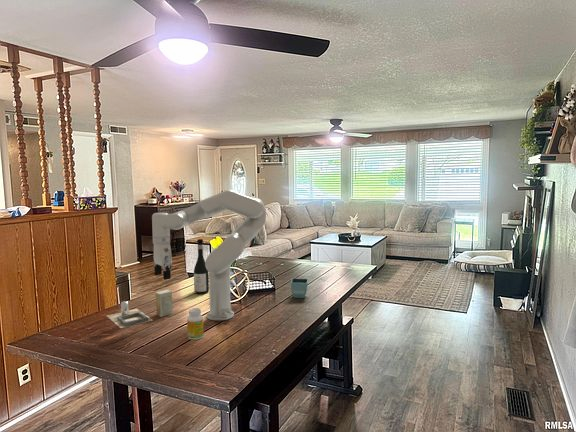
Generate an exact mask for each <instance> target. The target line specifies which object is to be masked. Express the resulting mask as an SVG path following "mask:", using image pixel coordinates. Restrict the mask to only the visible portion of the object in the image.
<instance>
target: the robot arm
mask: <svg viewBox="0 0 576 432" xmlns="http://www.w3.org/2000/svg"><path fill="white" fill-rule="evenodd" d="M226 211H230V212H232V213H235V214H238V215H239V216H240V215H241V216H244V217H246V218H245V219H244V220H243V221H242V222H241V223H240V225H239V226H237V228H235V229H234V231H232V232H231V233H230V234H229V235H227V237H226V238H225V239H224V240H222V242H221V243H220V244H219V245H218V246H217V247H216V248H215V249H213V250H212V251H211V252H210V253H209V254H208V256H207V257H206V259H205V266H206V269H207V270H208V274H209V291H208V295H209V296H208V297H209V312H208V311H207V313H206V318H207V319H208V320H210V321H215V322H216V321H217V322H218V321H219V322H220V321H227V320H230V319H232V318H234V316H235V312H234V311H233V310H232V306H231V305H232V304H231V265H232V264H233V263H234V262H236V260H237V259H238V258H239V257H240V256H241V255H242V254H243V253H244V250H245V248H246V247H247V245H248V244H249V243H251V241H252V240H253V239H254V238H255V237H256V236H257V235H258V234H259V233H260V232H261V230H262V228H263V226H264V225H265V223H266V219H267V212H266V211H267V210H266V207H265V204H264V202H263V200H262V199H260V198H258V197H250V196H246V195H244V194H241V193H239V192H238V191H237V190H235V189H233V188H228V189H226V190H224V191H221V192H219V193H217V194H214V195H212V196H209V197H207V198H204V199H201V200H200V201H199V202H198V203H195V204H193V205H191V206H188V207H186V208H184V209H181V210H179V211H176V212H173V213H168V212H154V213H153V214H152V215H151V221H152V222H151V224H152V226H151V227H152V244H153V257H152V259H153V263H154V264H153V266H154V276H160V275H162V278H163V281H164V280H170V279H171V277H172V276H171V274H172V273H171V271H172V269H171V268H172V265H173V260H172V255H173V254H172V249H171V247H172V246H171V230H174V231H177V230H181V229H182V228H184V227H186V226H188V225H191V224H193V223H196V222H198V221H201V220H203V219H209V218H212V217H215V216H217V215H219V214H222V213H225V212H226ZM162 269H163V271H162Z"/></svg>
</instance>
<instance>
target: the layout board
mask: <svg viewBox="0 0 576 432" xmlns="http://www.w3.org/2000/svg"><path fill="white" fill-rule="evenodd" d="M106 317H107V318H108V319H109V320H110V321H112V322H113V324H115V325H116V326H118V327H119V328H120V329H123V328H127V327H132V326H136V325H140V324H144V323H148V322H152V321H153V319H152V318H151V317H149V316H148V315H146V314H145V313H144V312H142V311H141V310H140V309H139V308H135V309H129V314H128V315H124V316H122V311H121V312H118V313H117V312H115V313H112V314H109V315H108V314H107V315H106Z"/></svg>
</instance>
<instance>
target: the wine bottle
mask: <svg viewBox="0 0 576 432" xmlns="http://www.w3.org/2000/svg"><path fill="white" fill-rule="evenodd" d="M203 240H204V239H202V238H200V239H197V240H196V241H197V260H196V263H195V265H194V268H193V285H194V287H193V291H194V293H195V294H197V295H204V294H207V293H209V271H208V270H207V269H206V266H205V262H206V259H205V258H204V247H203V246H204V241H203Z"/></svg>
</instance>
